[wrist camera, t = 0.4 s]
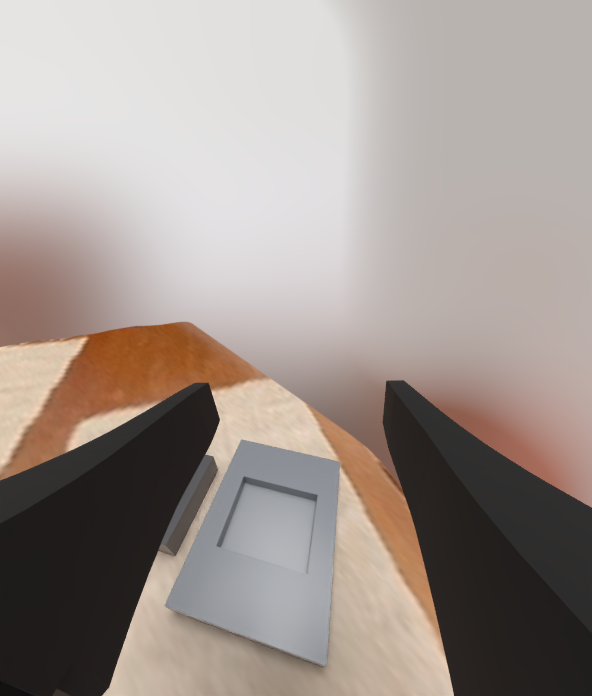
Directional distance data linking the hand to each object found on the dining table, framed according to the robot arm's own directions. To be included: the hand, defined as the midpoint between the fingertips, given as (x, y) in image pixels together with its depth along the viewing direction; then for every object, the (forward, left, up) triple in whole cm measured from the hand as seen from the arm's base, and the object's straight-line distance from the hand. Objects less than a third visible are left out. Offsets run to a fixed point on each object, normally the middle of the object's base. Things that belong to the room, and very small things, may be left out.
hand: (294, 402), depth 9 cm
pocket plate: (+2, +2, -21) cm, 21 cm away
